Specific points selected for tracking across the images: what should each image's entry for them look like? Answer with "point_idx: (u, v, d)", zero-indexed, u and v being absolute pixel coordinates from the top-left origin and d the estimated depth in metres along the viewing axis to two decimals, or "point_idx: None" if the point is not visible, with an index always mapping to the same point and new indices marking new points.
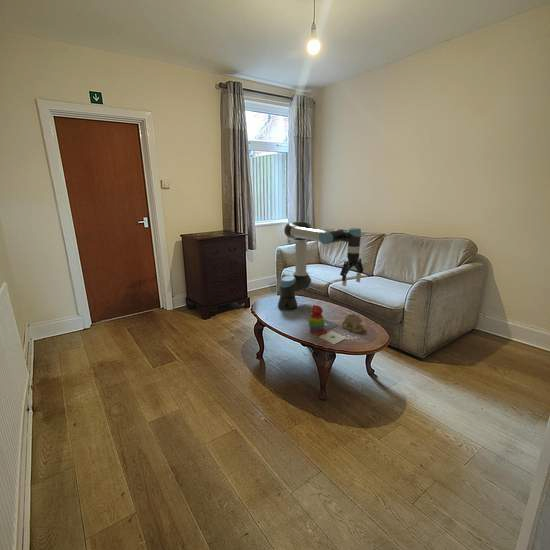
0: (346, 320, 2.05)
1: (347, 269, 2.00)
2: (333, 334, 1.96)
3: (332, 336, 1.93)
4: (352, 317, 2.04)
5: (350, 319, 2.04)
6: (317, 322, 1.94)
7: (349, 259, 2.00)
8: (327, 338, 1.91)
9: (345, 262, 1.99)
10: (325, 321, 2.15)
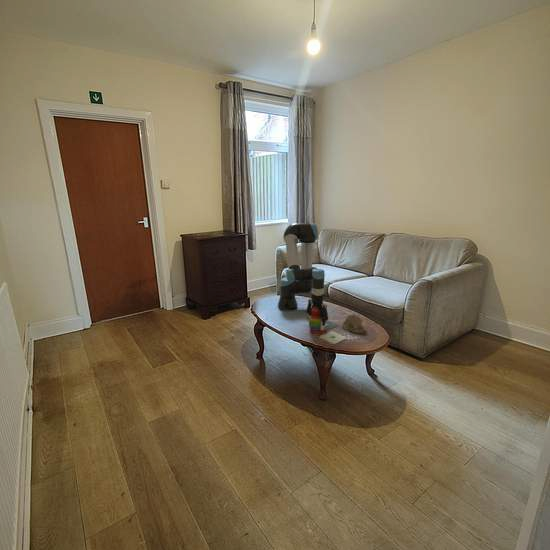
0: (347, 321, 2.03)
1: (311, 308, 2.00)
2: (333, 334, 1.96)
3: (332, 336, 1.93)
4: (352, 318, 2.02)
5: (351, 320, 2.02)
6: (317, 322, 1.94)
7: None
8: (327, 338, 1.91)
9: None
10: (325, 321, 2.15)
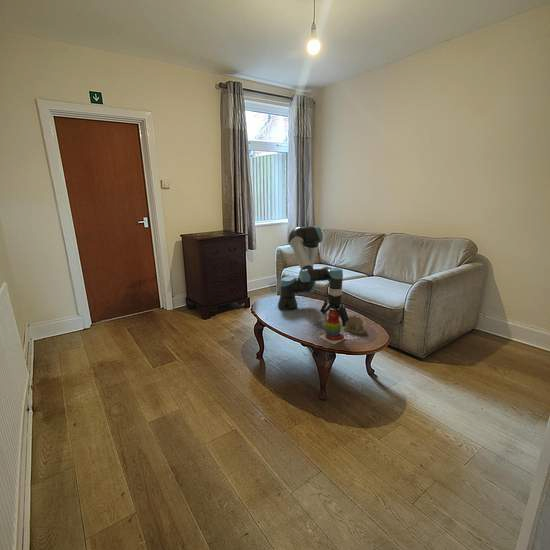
0: (348, 322, 2.01)
1: (326, 308, 1.92)
2: None
3: None
4: (353, 319, 2.01)
5: (352, 321, 2.01)
6: (334, 328, 1.86)
7: None
8: None
9: None
10: None
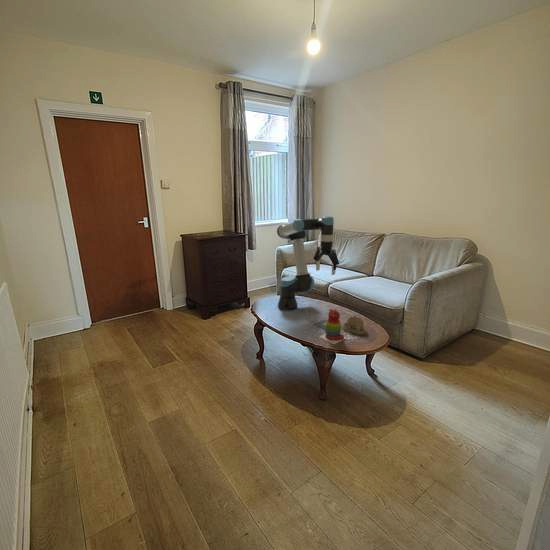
0: (348, 323, 2.00)
1: (319, 255, 2.09)
2: None
3: None
4: (354, 320, 2.00)
5: (352, 321, 2.00)
6: (334, 327, 1.86)
7: None
8: None
9: None
10: (325, 321, 2.15)
